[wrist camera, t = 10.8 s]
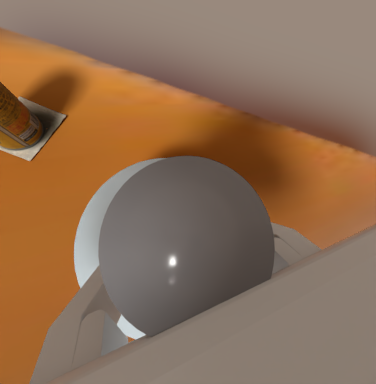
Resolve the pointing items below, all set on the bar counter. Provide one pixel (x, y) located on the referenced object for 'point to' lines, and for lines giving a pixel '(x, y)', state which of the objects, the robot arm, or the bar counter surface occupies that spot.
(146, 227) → the lid
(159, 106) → the bar counter surface
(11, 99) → the condiment
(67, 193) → the bar counter surface
